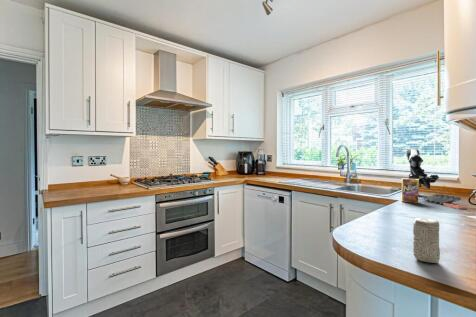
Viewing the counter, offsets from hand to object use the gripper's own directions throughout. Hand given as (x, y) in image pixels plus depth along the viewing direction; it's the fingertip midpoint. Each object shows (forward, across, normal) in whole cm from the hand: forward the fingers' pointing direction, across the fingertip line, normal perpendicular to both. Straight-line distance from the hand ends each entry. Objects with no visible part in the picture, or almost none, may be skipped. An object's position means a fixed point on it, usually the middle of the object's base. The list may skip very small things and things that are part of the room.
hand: (429, 188), depth 165 cm
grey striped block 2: (+8, 0, -3) cm, 8 cm away
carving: (+71, +74, +60) cm, 119 cm away
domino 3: (+10, 0, 0) cm, 10 cm away
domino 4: (+13, 0, +2) cm, 13 cm away
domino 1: (+5, 0, -6) cm, 8 cm away
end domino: (+15, 0, +5) cm, 16 cm away
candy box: (+9, +16, -3) cm, 19 cm away
